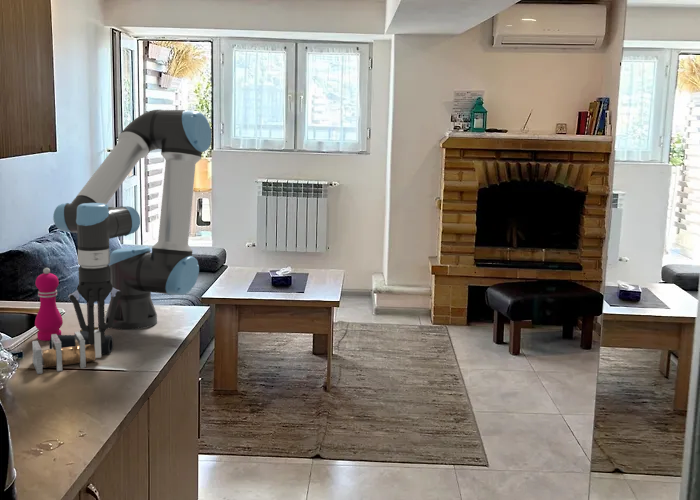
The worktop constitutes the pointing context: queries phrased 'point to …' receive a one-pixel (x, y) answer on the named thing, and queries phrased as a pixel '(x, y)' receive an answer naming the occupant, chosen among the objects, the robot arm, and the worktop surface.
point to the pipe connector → (70, 341)
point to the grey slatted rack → (58, 352)
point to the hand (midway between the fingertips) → (97, 355)
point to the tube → (67, 355)
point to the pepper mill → (47, 306)
